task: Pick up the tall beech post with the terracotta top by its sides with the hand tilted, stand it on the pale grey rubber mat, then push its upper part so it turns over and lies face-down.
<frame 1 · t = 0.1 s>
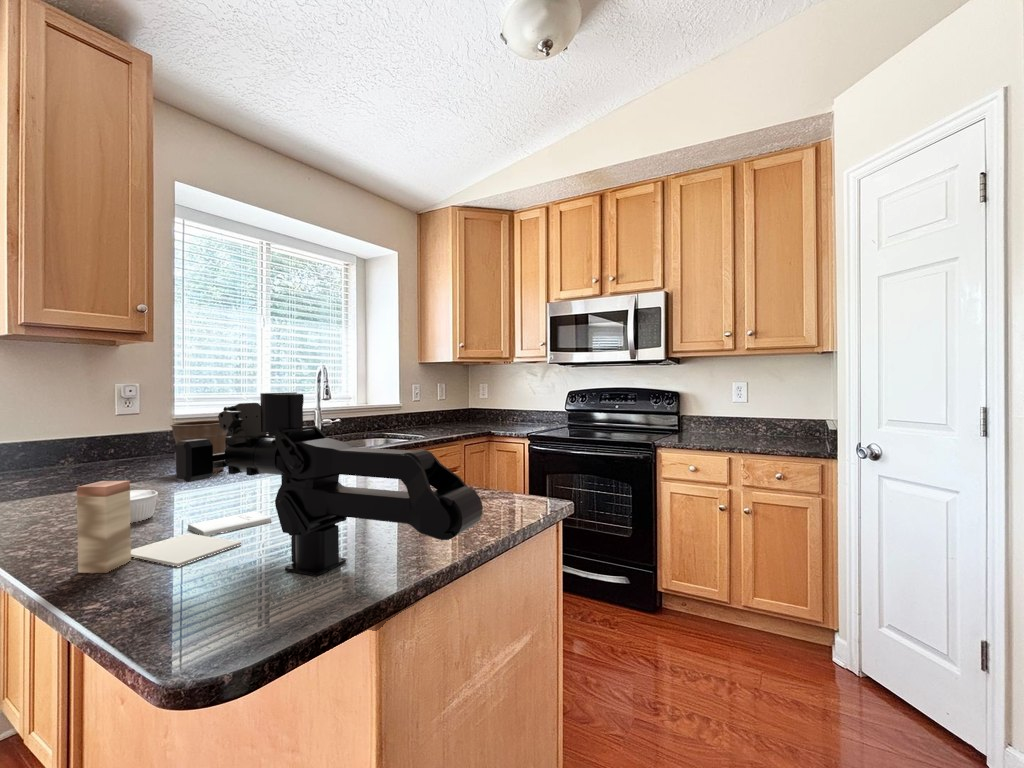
hand: (202, 451, 86), 17 cm above the countertop, tool horizontal, fingers open, 9 cm apart
ramekin: (125, 521, 104), on the countertop
mat: (183, 550, 84), on the countertop
external hard drive: (230, 529, 99), on the countertop
post: (105, 567, 77), on the countertop
plant pot: (201, 472, 160), on the countertop
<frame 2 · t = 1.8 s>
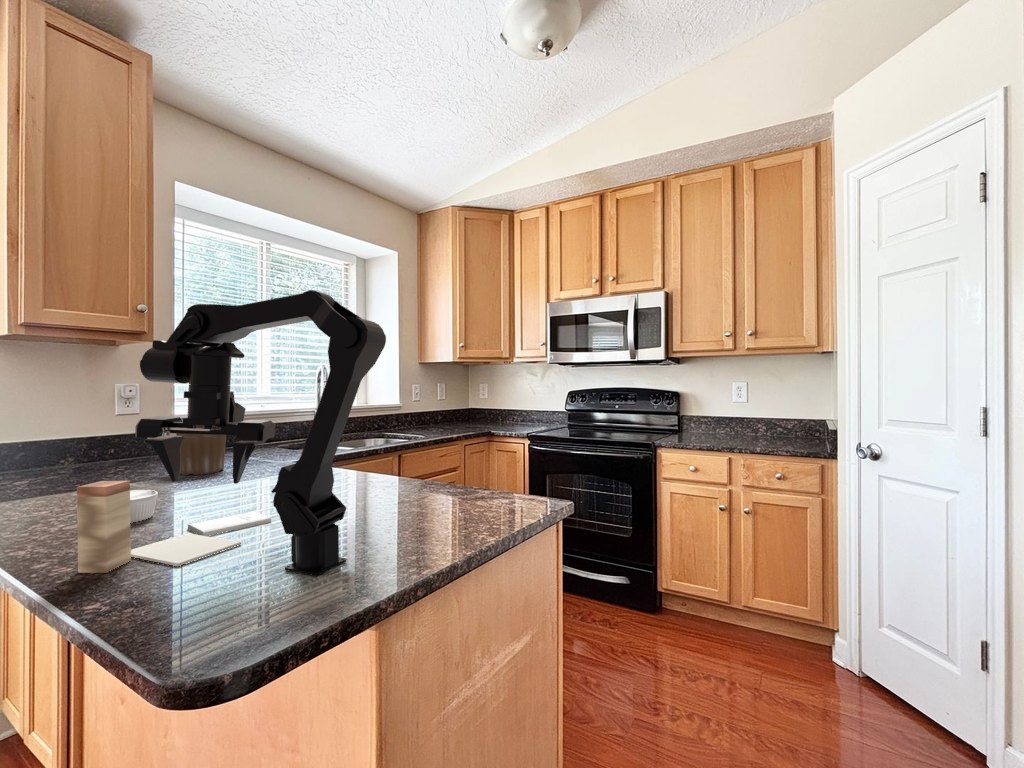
hand: (206, 482, 79), 13 cm above the countertop, tool pointing down, fingers open, 9 cm apart
nothing on the countertop moved.
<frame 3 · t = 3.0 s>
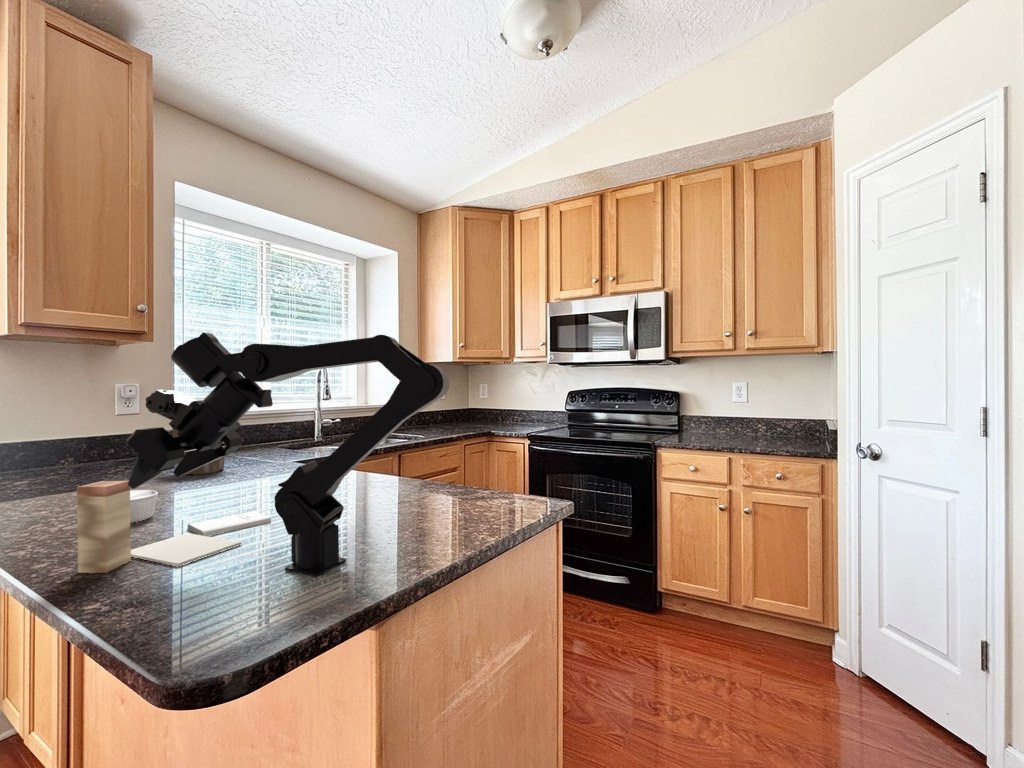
hand: (154, 480, 77), 13 cm above the countertop, tool tilted 45°, fingers open, 9 cm apart
nothing on the countertop moved.
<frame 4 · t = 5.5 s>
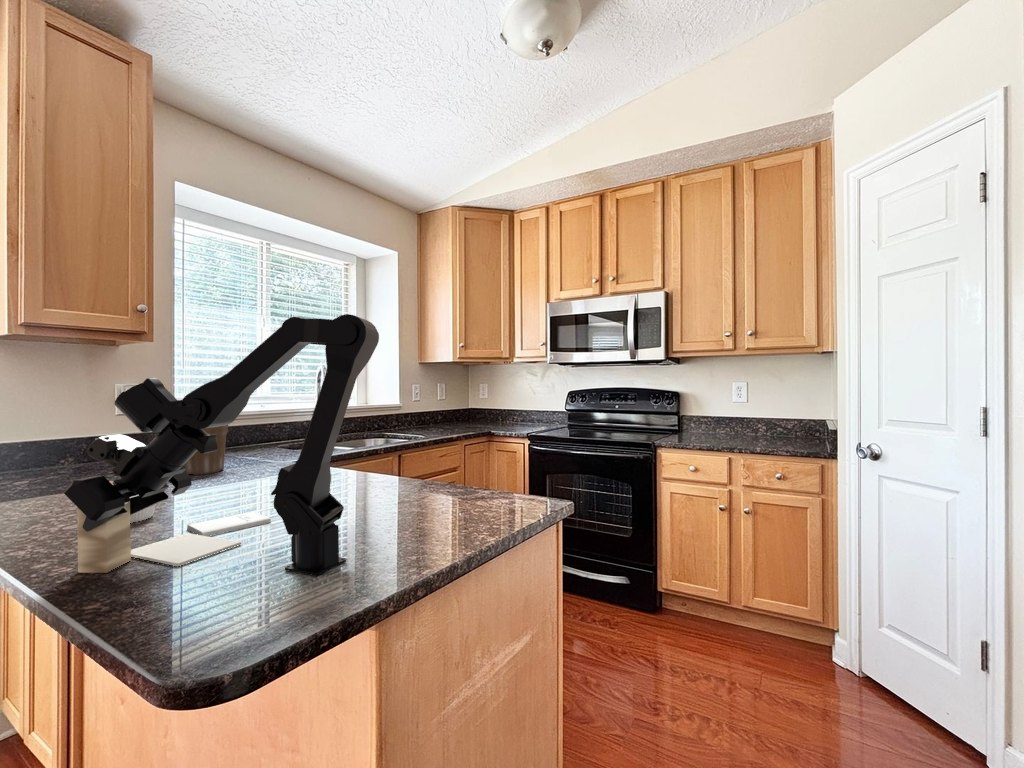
hand: (99, 524, 77), 7 cm above the countertop, tool tilted 45°, fingers closed on post, 4 cm apart
post: (105, 566, 77), on the countertop, touching gripper
everything else where it was.
when the fingers open (8 cm above the countertop, at t = 8.3 s): post stays where it is, resting on mat.
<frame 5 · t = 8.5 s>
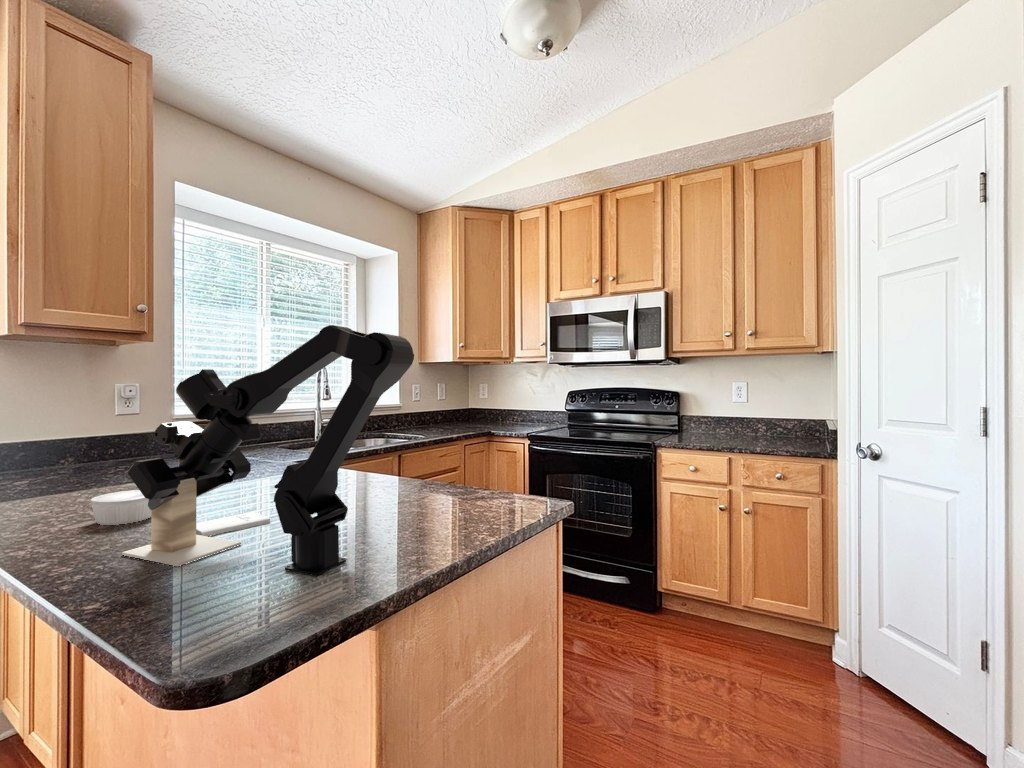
hand: (169, 503, 85), 8 cm above the countertop, tool tilted 45°, fingers open, 6 cm apart
post: (174, 546, 84), point 1 cm above the countertop, touching mat
everything else where it was.
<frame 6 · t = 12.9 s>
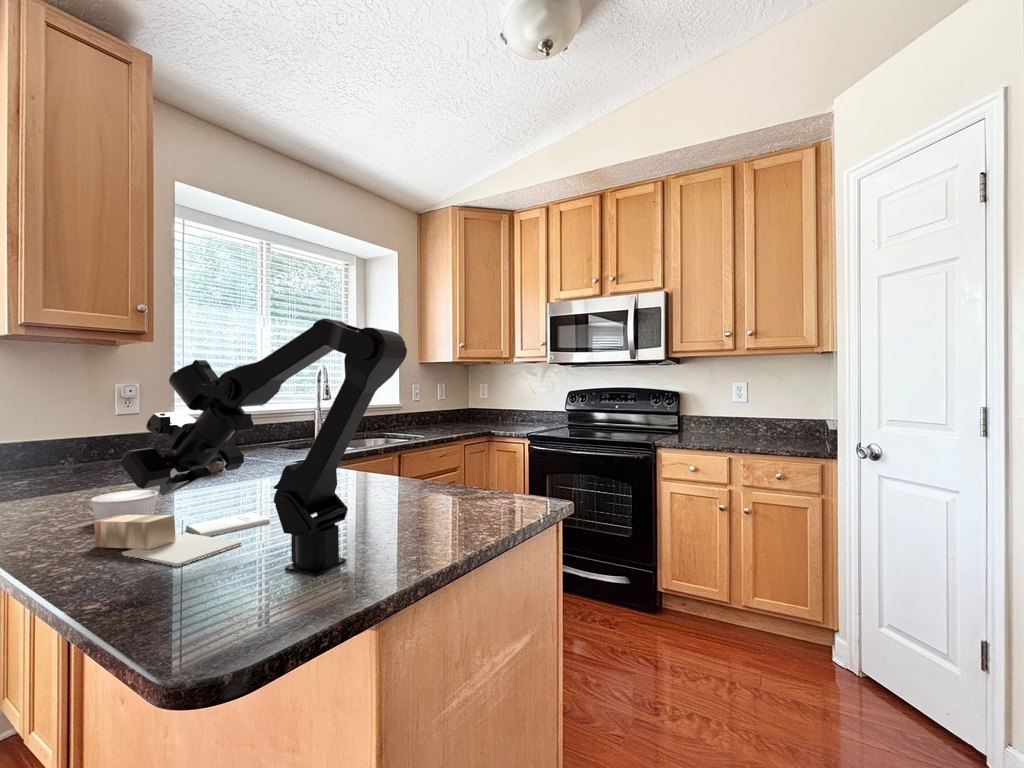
hand: (162, 493, 85), 10 cm above the countertop, tool tilted 45°, fingers closed
post: (162, 531, 85), point 3 cm above the countertop, tilted 93°, touching mat
everything else where it was.
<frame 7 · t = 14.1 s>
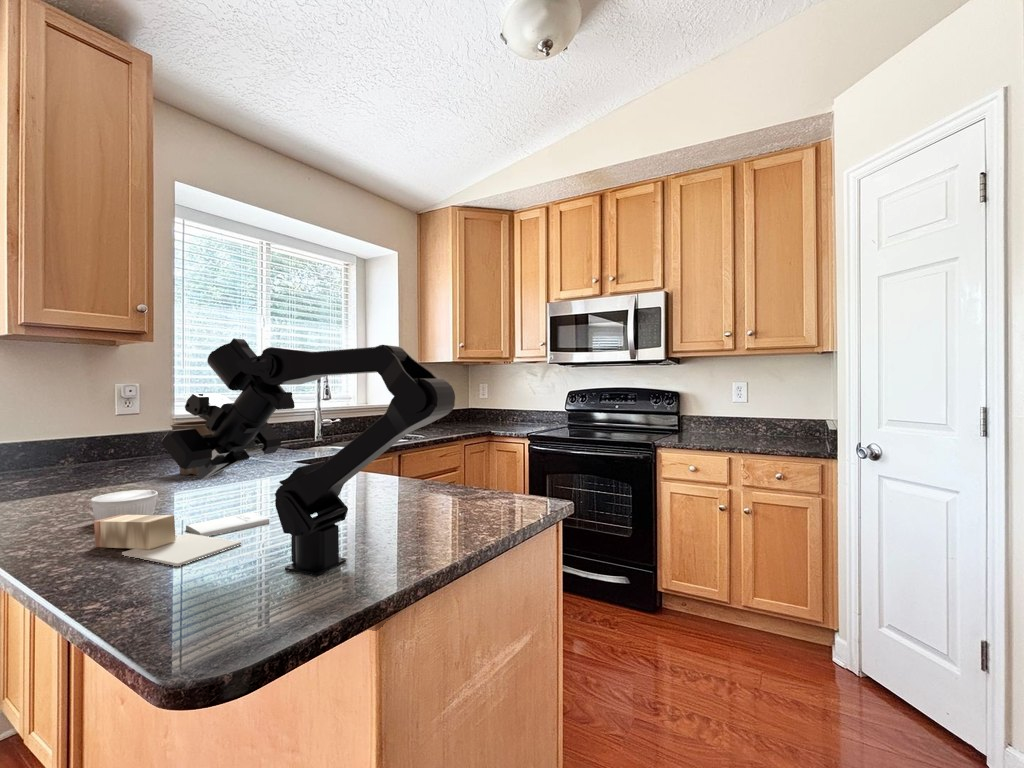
hand: (200, 477, 83), 13 cm above the countertop, tool tilted 45°, fingers closed
nothing on the countertop moved.
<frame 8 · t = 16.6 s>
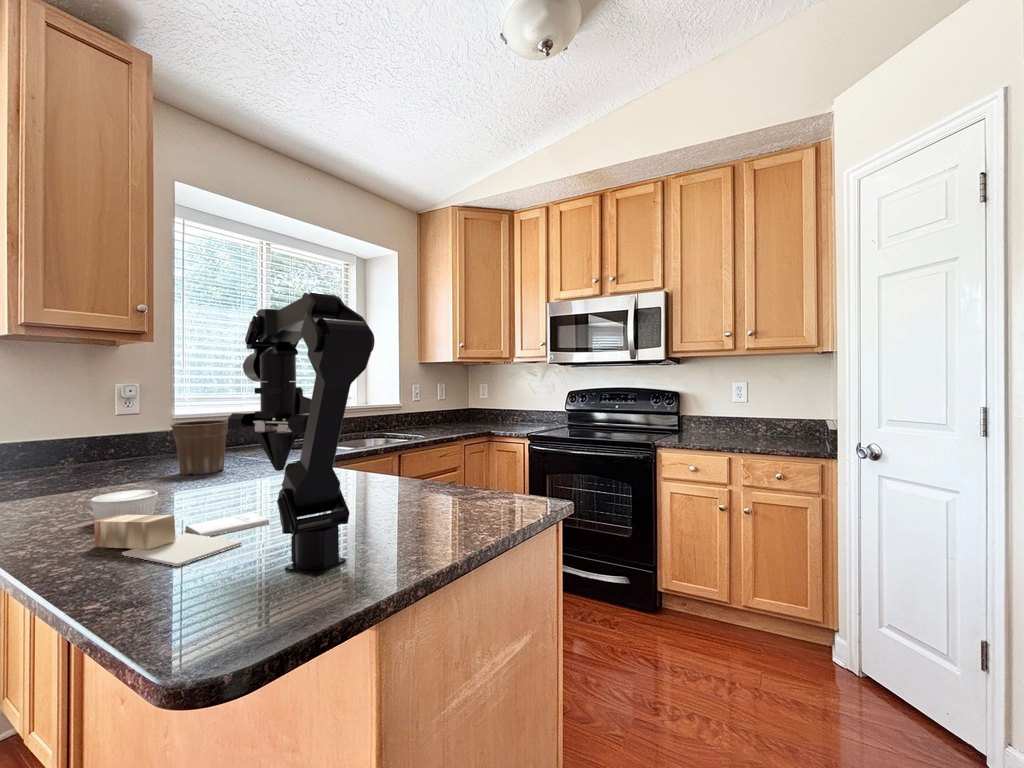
hand: (279, 470, 87), 13 cm above the countertop, tool pointing down, fingers closed
nothing on the countertop moved.
at the end: post tilted 93°; post 4.0 cm from the mat (horizontally); the gripper is holding nothing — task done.
